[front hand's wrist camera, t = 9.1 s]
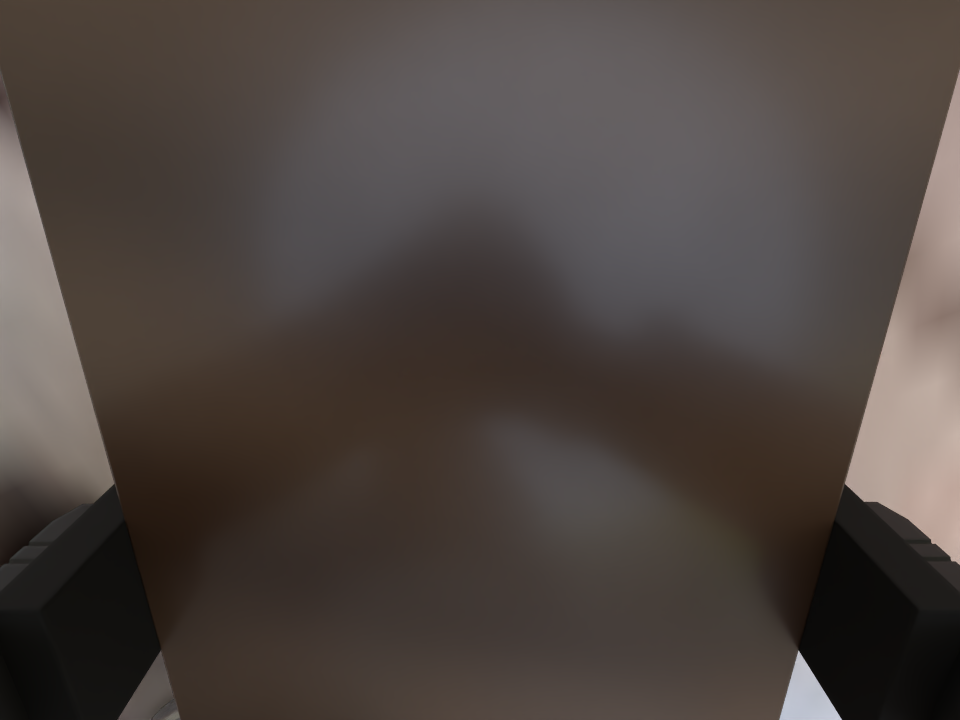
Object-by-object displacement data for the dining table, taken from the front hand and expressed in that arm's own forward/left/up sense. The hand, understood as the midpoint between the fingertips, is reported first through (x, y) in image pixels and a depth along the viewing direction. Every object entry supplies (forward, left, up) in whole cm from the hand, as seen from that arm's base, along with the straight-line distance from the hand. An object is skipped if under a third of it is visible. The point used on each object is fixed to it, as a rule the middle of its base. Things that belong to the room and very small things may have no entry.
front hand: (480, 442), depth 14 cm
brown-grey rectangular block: (+5, -3, -6) cm, 8 cm away
